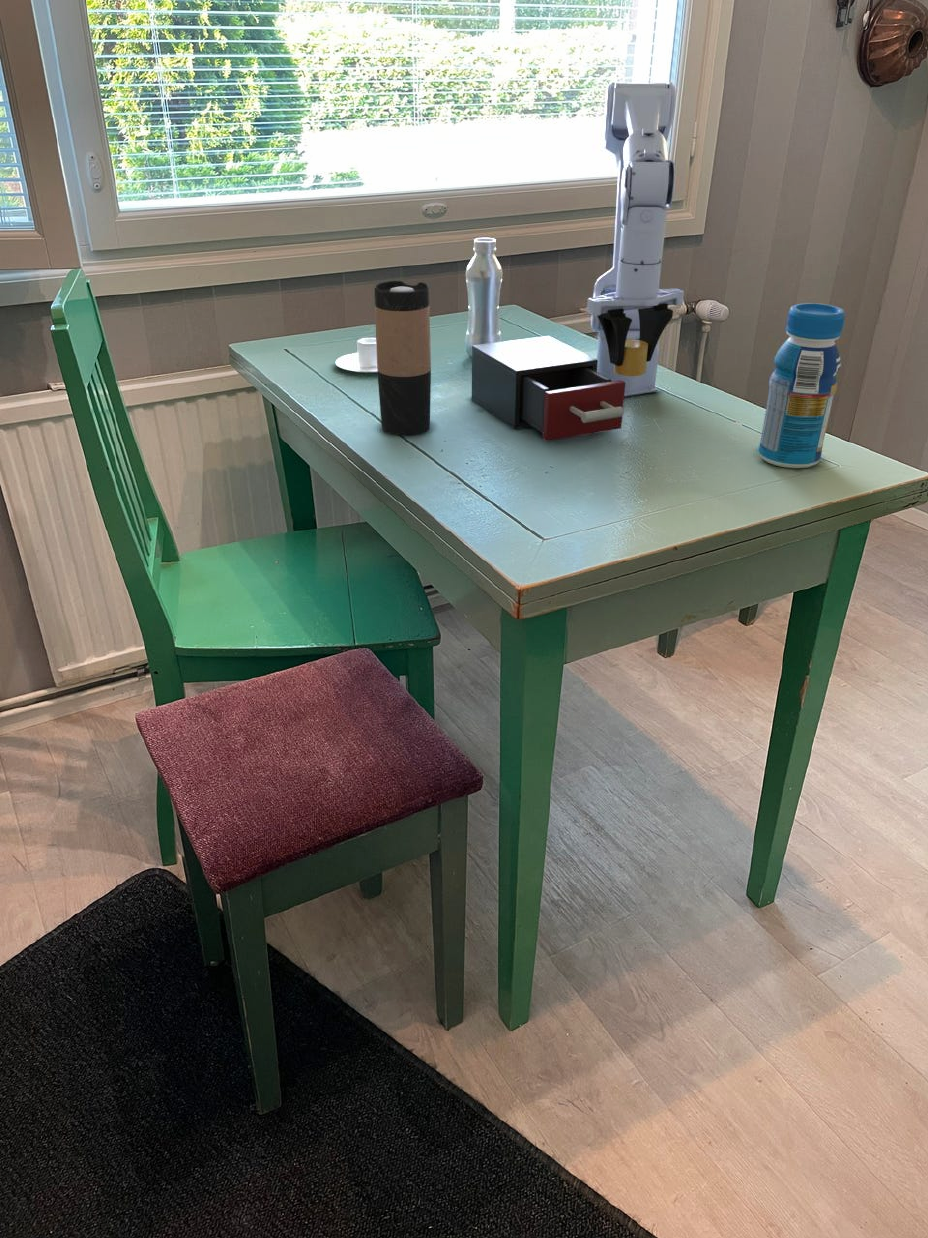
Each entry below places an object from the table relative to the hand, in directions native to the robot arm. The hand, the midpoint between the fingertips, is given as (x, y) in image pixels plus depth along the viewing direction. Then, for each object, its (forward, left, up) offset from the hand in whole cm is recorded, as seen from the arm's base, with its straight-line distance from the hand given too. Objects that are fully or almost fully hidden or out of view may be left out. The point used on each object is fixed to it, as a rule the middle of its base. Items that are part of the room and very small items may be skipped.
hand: (630, 361), depth 133 cm
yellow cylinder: (0, 0, -1) cm, 1 cm away
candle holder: (+23, -45, -10) cm, 51 cm away
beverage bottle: (-14, +19, -10) cm, 26 cm away
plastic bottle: (+3, -41, -10) cm, 42 cm away
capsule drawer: (+8, -3, -9) cm, 12 cm away
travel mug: (+29, -14, -10) cm, 34 cm away
